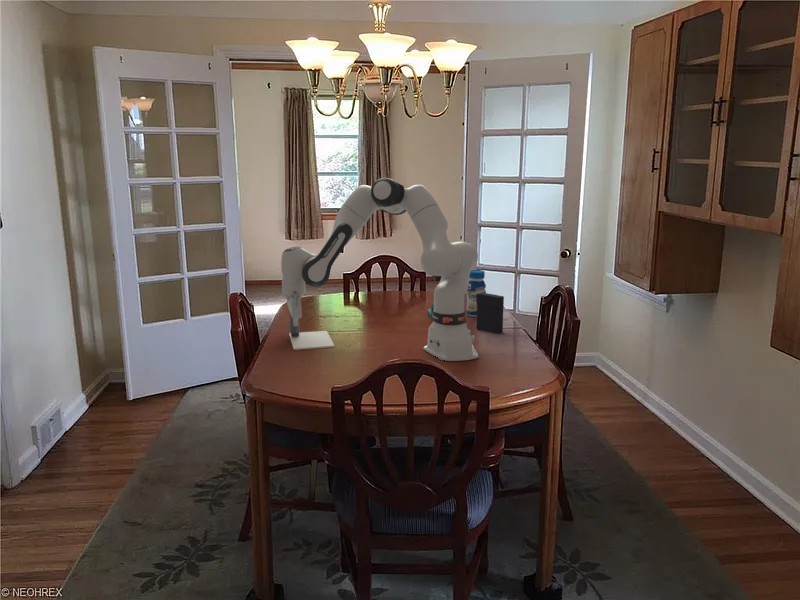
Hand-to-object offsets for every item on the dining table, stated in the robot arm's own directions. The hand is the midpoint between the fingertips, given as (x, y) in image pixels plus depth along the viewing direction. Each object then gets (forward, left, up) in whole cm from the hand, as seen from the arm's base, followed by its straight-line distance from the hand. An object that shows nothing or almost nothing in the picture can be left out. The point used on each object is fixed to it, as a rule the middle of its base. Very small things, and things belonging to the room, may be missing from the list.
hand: (294, 324), depth 247 cm
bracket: (+17, -64, -6) cm, 66 cm away
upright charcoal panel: (-9, -78, -6) cm, 78 cm away
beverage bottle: (+17, -82, -6) cm, 84 cm away
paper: (-6, -6, -6) cm, 10 cm away
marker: (0, 0, -5) cm, 5 cm away
